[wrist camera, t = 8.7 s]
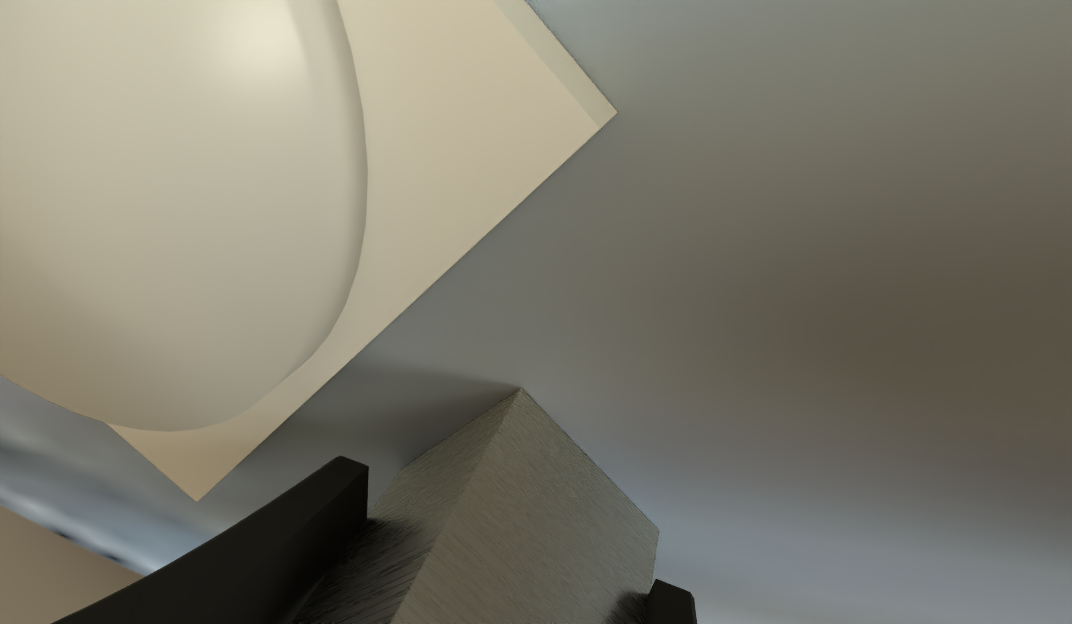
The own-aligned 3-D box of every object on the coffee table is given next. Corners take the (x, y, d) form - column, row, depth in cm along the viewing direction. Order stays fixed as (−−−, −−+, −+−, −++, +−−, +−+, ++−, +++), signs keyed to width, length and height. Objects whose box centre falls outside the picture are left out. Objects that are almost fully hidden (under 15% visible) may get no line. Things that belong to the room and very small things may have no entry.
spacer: (659, 530, 11) (613, 851, 7) (523, 585, 13) (424, 856, 9) (520, 387, 10) (378, 645, 6) (401, 469, 13) (234, 702, 8)
